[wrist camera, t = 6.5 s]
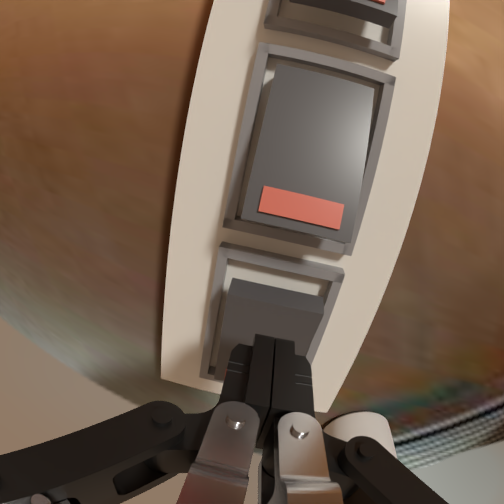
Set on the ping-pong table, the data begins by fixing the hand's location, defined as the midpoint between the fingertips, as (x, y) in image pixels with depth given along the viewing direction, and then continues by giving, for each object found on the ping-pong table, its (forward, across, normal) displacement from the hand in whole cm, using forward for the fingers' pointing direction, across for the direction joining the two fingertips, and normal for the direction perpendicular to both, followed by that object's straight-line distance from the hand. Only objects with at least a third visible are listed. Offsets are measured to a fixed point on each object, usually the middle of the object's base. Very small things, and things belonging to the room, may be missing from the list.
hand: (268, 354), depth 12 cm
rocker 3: (+4, 0, +3) cm, 5 cm away
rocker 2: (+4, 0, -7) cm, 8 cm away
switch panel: (+9, 0, -7) cm, 11 cm away
